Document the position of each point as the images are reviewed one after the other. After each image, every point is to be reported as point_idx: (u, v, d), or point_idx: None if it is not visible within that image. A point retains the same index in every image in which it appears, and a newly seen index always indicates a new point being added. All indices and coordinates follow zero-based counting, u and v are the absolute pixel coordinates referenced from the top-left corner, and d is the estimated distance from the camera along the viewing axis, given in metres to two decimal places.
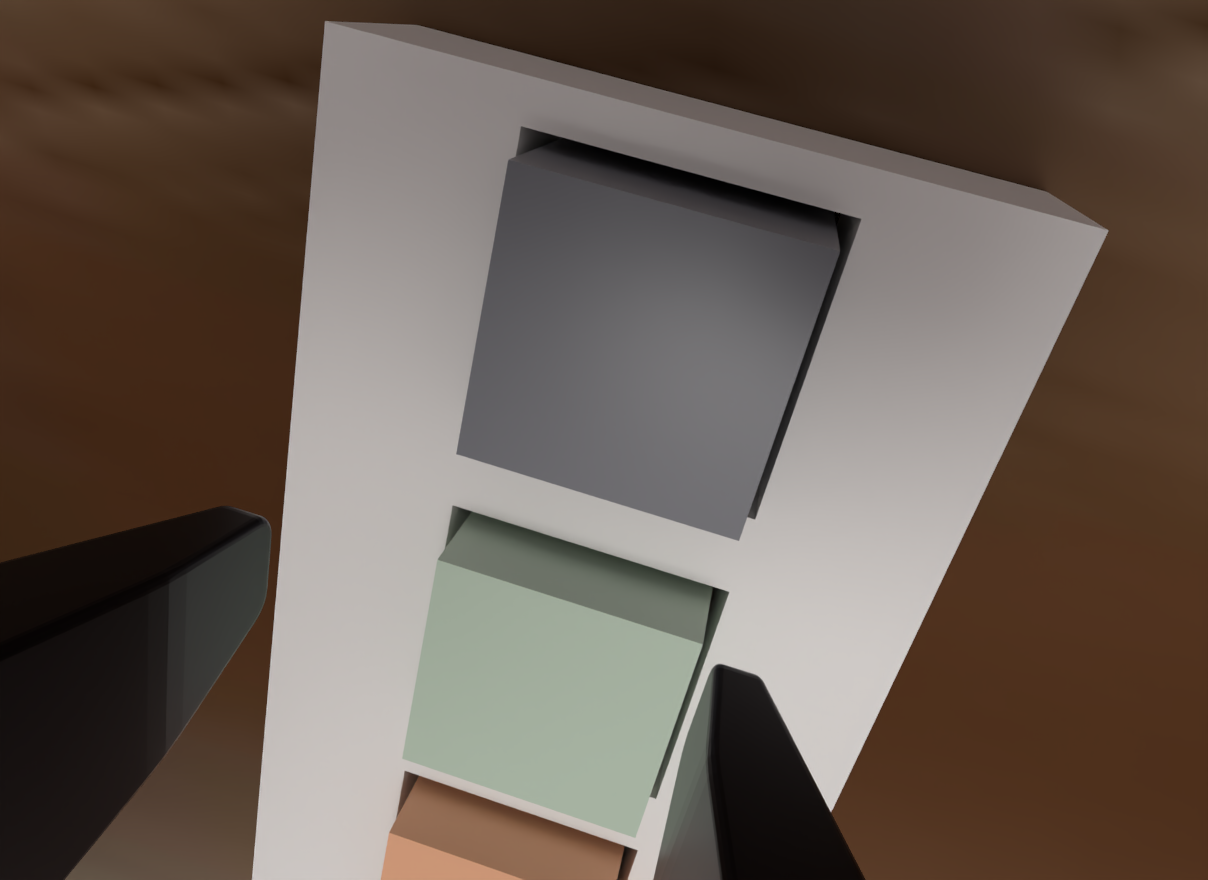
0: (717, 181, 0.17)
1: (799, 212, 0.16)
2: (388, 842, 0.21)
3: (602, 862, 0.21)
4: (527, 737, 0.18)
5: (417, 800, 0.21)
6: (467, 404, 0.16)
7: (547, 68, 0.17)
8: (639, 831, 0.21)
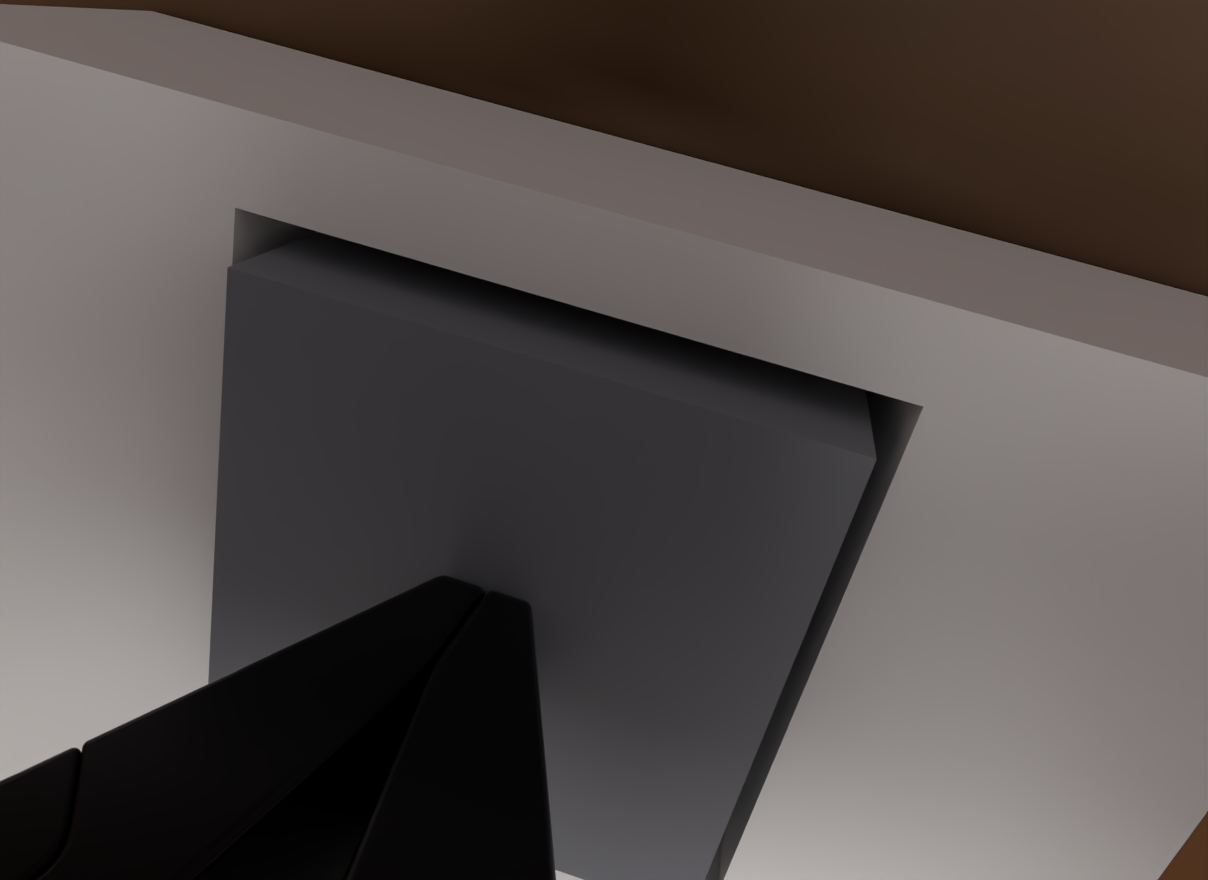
0: None
1: None
2: None
3: None
4: None
5: None
6: (214, 673, 0.09)
7: (332, 87, 0.09)
8: None
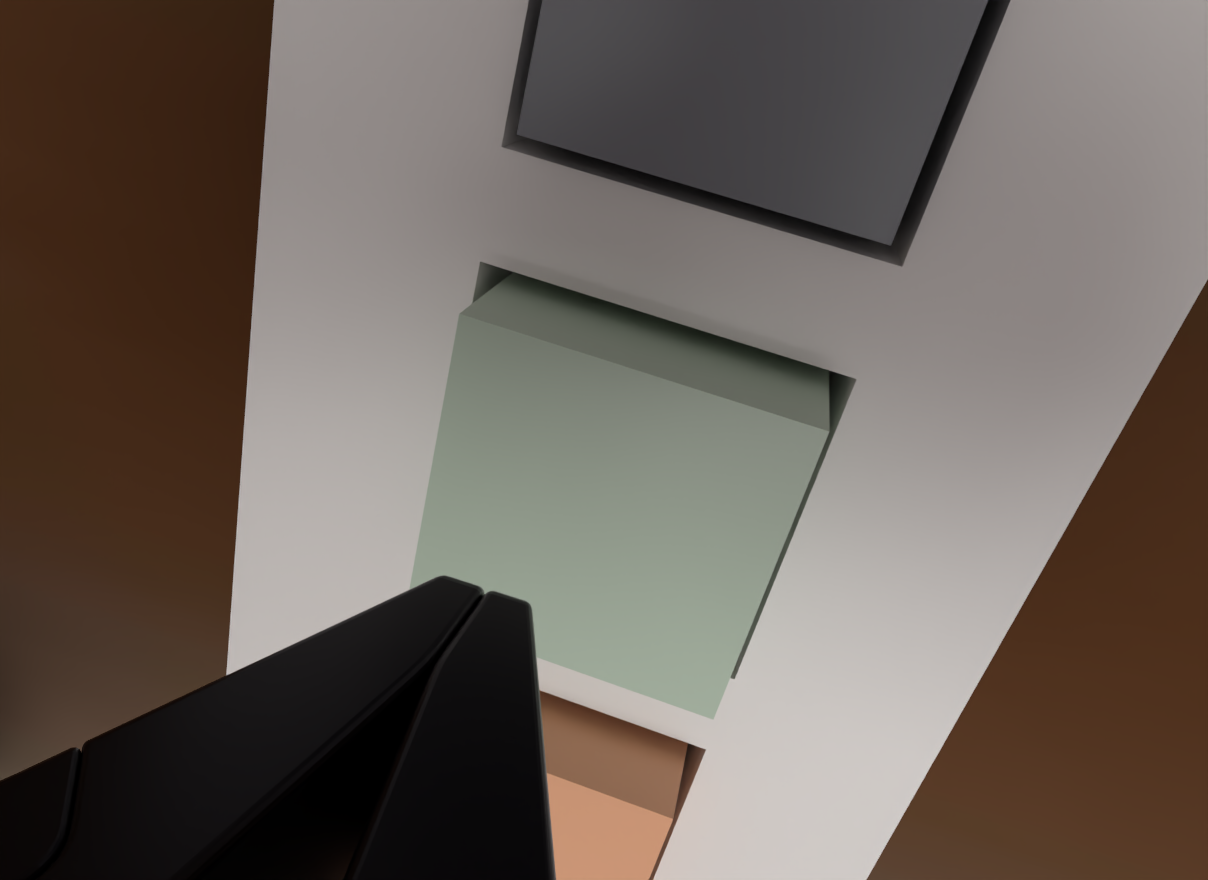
0: None
1: None
2: None
3: (659, 762, 0.16)
4: (573, 577, 0.14)
5: None
6: (535, 55, 0.12)
7: None
8: (709, 724, 0.16)
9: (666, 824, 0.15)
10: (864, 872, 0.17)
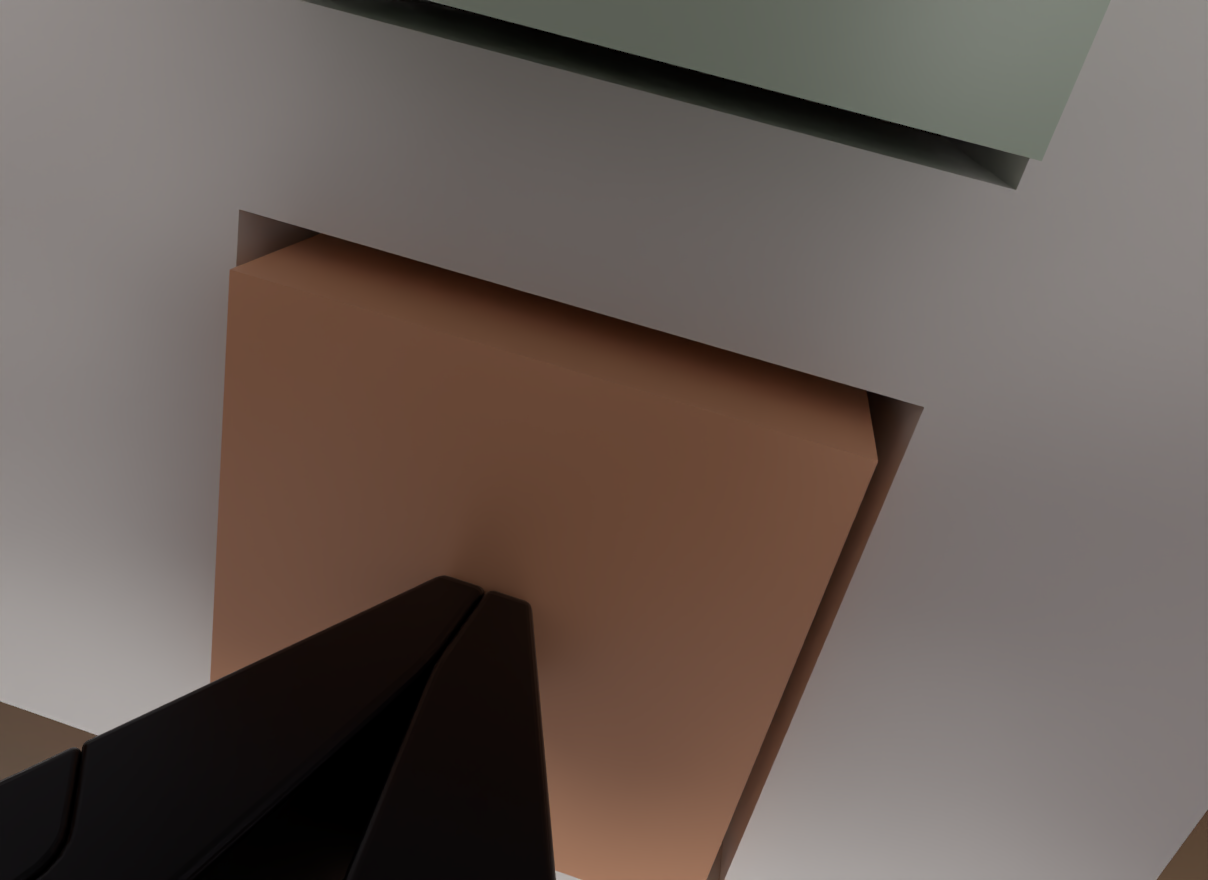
0: None
1: None
2: (230, 306, 0.07)
3: (820, 391, 0.08)
4: None
5: (323, 250, 0.08)
6: None
7: None
8: (939, 334, 0.07)
9: (861, 476, 0.07)
10: None
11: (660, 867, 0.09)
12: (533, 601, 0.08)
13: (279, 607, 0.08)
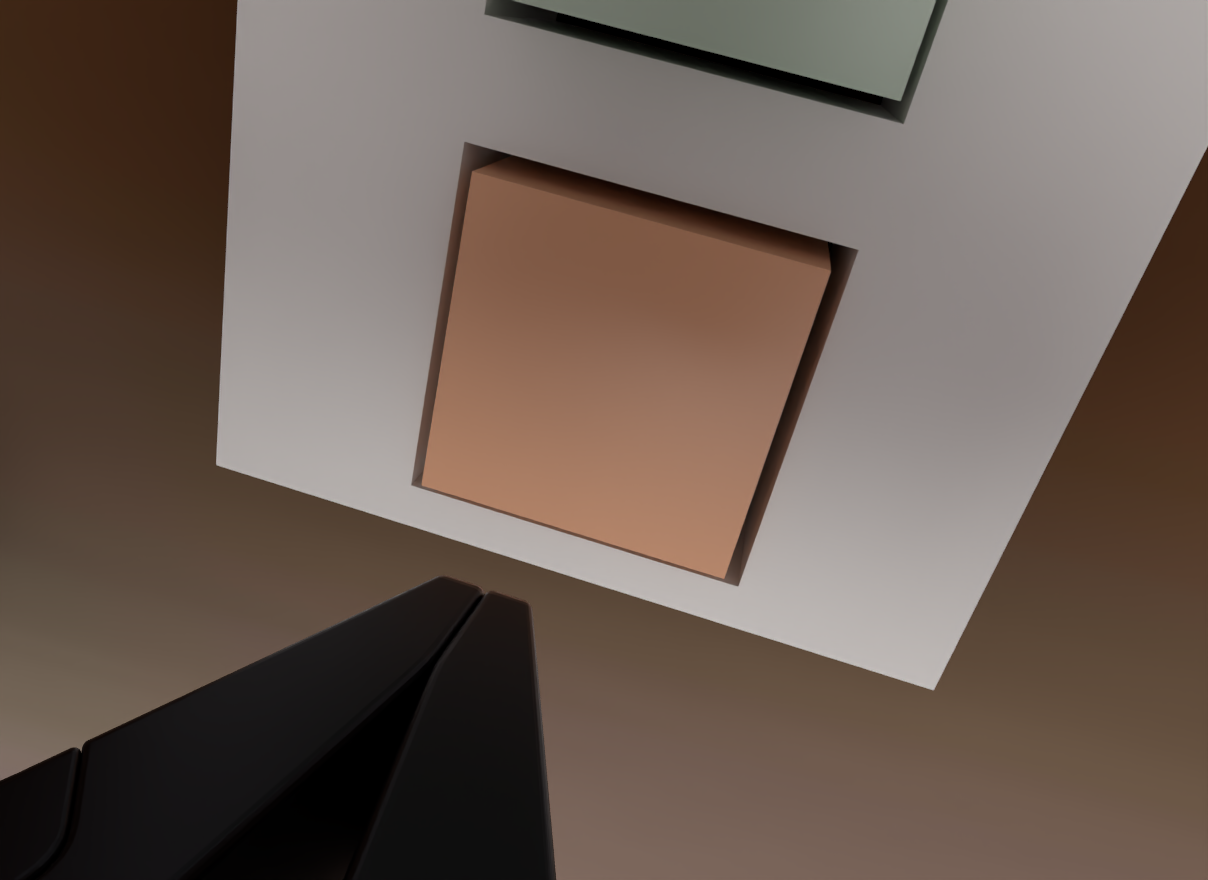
0: None
1: None
2: (470, 192, 0.13)
3: (801, 246, 0.13)
4: None
5: (510, 166, 0.14)
6: None
7: None
8: (865, 206, 0.12)
9: (822, 279, 0.12)
10: (1062, 419, 0.13)
11: (705, 544, 0.14)
12: (635, 368, 0.14)
13: (479, 382, 0.14)
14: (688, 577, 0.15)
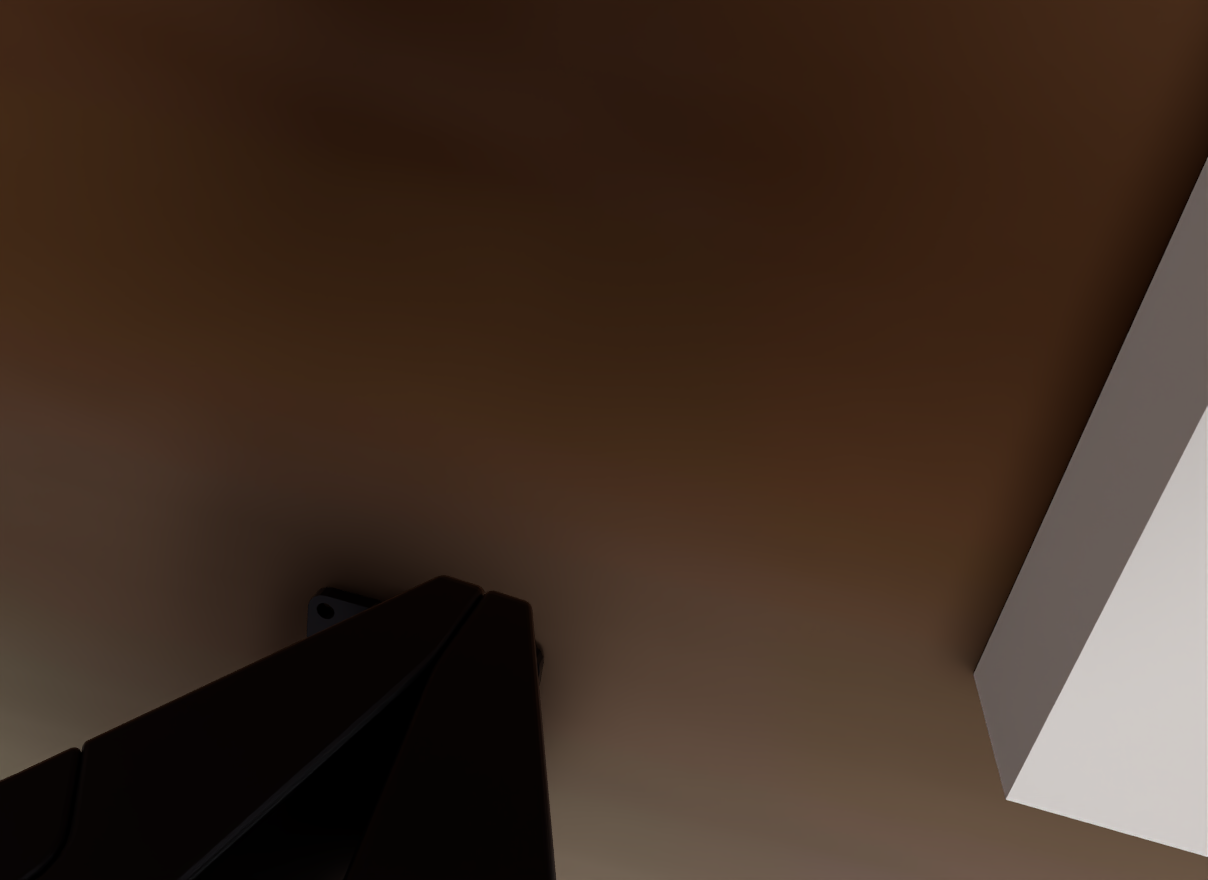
0: None
1: None
2: None
3: None
4: None
5: None
6: None
7: None
8: None
9: None
10: None
11: None
12: None
13: None
14: None
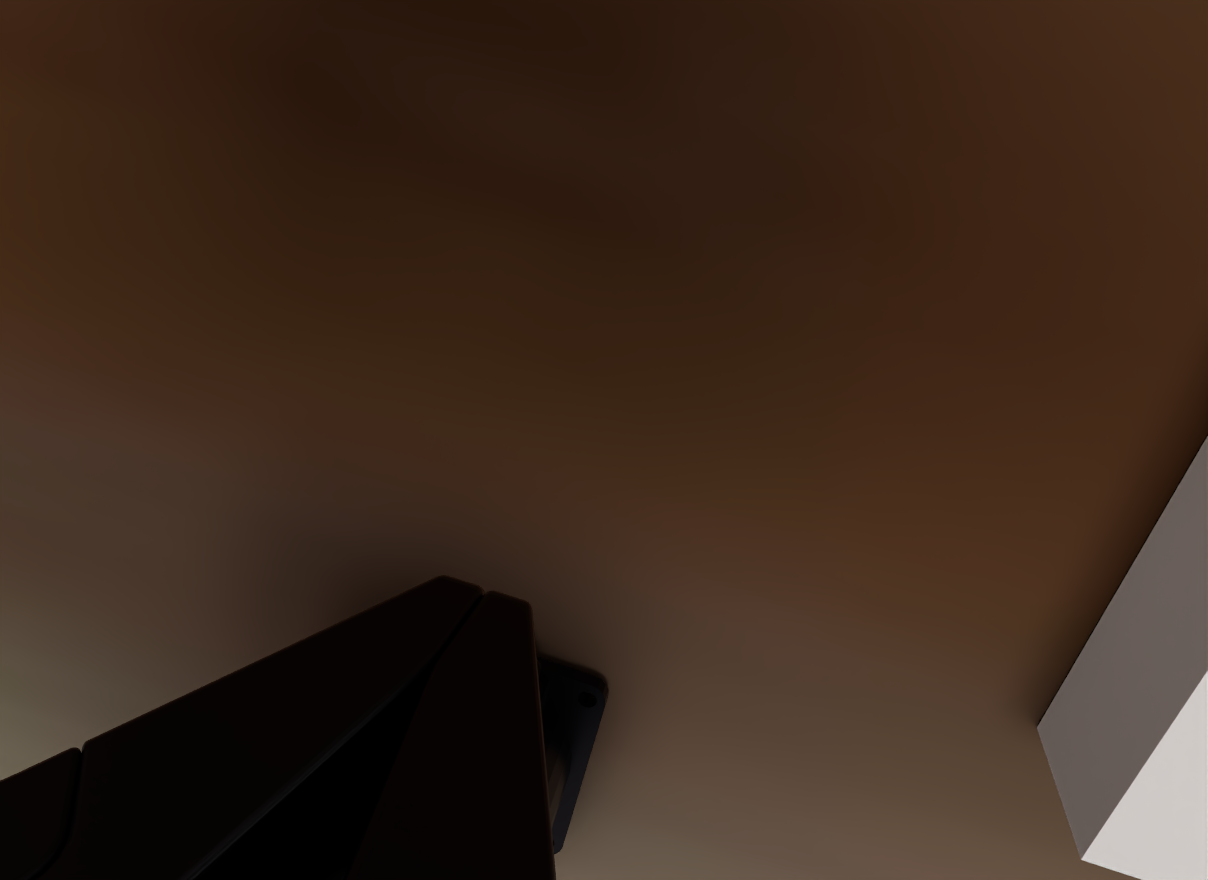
0: None
1: None
2: None
3: None
4: None
5: None
6: None
7: None
8: None
9: None
10: None
11: None
12: None
13: None
14: None
